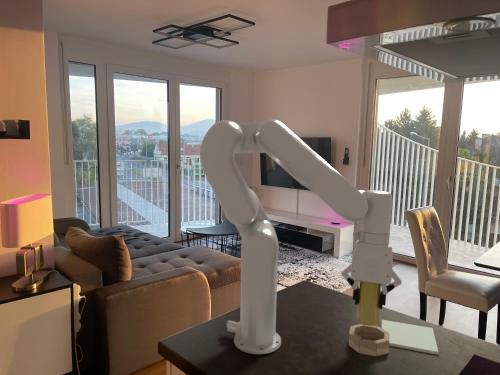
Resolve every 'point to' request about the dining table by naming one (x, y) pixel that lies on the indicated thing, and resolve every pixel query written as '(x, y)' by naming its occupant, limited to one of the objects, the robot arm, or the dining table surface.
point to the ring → (367, 345)
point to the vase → (368, 304)
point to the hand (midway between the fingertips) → (368, 304)
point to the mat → (411, 336)
